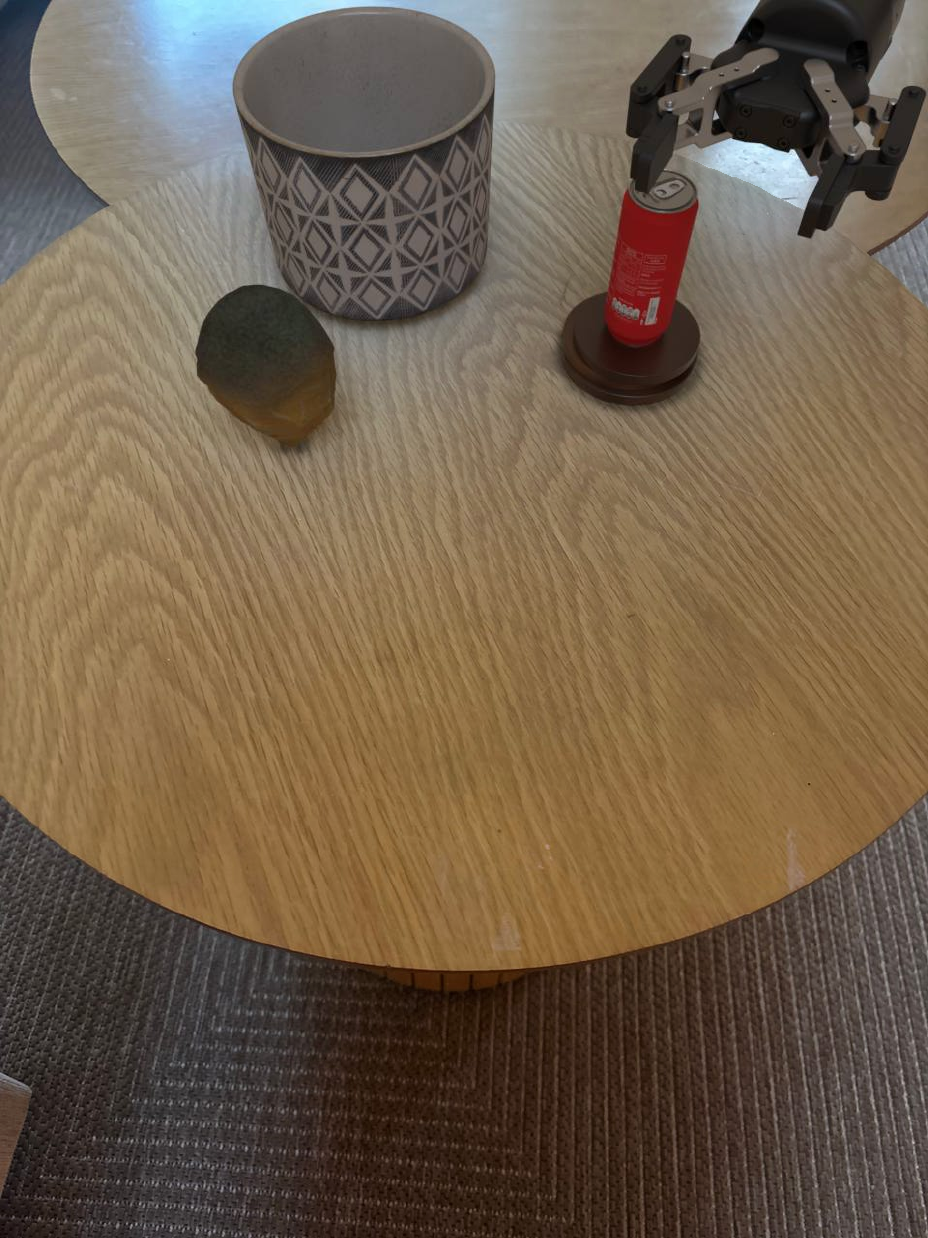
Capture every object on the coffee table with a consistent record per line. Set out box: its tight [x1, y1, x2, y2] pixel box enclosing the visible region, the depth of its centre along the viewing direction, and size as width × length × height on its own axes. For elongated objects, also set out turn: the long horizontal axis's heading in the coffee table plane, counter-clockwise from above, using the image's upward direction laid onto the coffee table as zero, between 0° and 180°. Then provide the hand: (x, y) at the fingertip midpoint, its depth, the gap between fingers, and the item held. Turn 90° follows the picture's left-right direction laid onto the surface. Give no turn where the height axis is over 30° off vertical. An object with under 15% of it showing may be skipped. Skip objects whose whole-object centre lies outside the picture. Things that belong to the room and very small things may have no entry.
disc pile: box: [561, 290, 701, 406], centre depth 72 cm, size 11×11×3 cm
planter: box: [231, 5, 496, 322], centre depth 72 cm, size 19×19×16 cm
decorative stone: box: [194, 284, 337, 447], centre depth 62 cm, size 10×6×15 cm, turn 95°
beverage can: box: [604, 168, 700, 347], centre depth 66 cm, size 5×5×12 cm
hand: (723, 198), depth 44 cm, fingers open, 8 cm apart
